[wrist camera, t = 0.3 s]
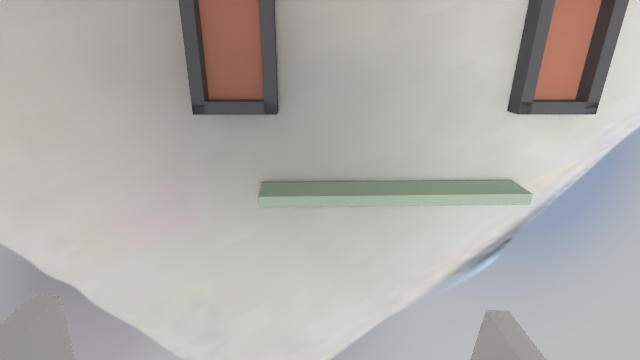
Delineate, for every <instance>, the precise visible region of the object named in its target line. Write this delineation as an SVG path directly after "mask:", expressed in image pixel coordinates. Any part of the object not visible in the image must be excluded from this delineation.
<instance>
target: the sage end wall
mask: <svg viewBox="0 0 640 360" xmlns="http://www.w3.org/2000/svg"><path fill="white" fill-rule="evenodd" d="M532 195H533V194H532V193H531V192H529V191H527V190H526V189H524V188H523V187H521V186H520V185H518V184H517V183H515V182H513V181H512V180H451V181H344V182H262V186H261V189H260V192H259V196H258V203H259V208H291V207H370V206H449V205H528V204H530V203H531V199H532Z"/></svg>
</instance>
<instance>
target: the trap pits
mask: <svg viewBox="0 0 640 360" xmlns="http://www.w3.org/2000/svg"><path fill="white" fill-rule="evenodd" d="M628 2H629V0H530V1H529V6H528V11H527V16H526V21H525V26H524V31H523V36H522V41H521V46H520V51H519V56H518V61H517V66H516V71H515V76H514V81H513V86H512V91H511V96H510V101H509V106H508V111H510V112H513V113H516V114H596V112H597V108H598V105H599V101H600V98H601V94H602V91H603V88H604V84H605V81H606V77H607V74H608V70H609V67H610V64H611V60H612V57H613V53H614V50H615V46H616V43H617V39H618V36H619V33H620V29H621V26H622V22H623V19H624V15H625V12H626V9H627V5H628ZM179 5H180V13H181V22H182V30H183V38H184V46H185V54H186V62H187V70H188V79H189V87H190V95H191V103H192V111H193V114H277V113H278V87H277V59H276V30H275V2H274V0H179Z"/></svg>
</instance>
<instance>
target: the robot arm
mask: <svg viewBox="0 0 640 360" xmlns="http://www.w3.org/2000/svg"><path fill="white" fill-rule="evenodd" d="M0 360H75V359H74V355H73V350H72V346H71V341H70V337H69V333H68V329H67V324H66V320H65V315H64V311H63V307H62V303H61V298H60V296H54V295H53V296H52V295H32V296H31V297H30V298H29V299H28V300H27V301H26V302H24V303H23V304H22V305H21V306H20V307H19V308H18V309H17V310H16V311H15V312H14V313H12V314H11V316H9V317H8V318H7V319H6V320H5V321H4V322H3V323H2V324H1V325H0ZM471 360H546V358H545V357H544V356H543V355H542V353H541V352H540V351H539V350H538V348H537V347H536V346H535V344H534V343H533V342H532V340H531V339H530V338H529V336H528V335H527V334H526V333H525V331H524V330H523V329H522V328H521V326H520V325H519V324H518V322H517V321H516V320H515V318H514V317H513V316H512V314H511V313H510V312H509V311H496V310H486V312H485V315H484V318H483V322H482V325H481V328H480V331H479V334H478V337H477V340H476V344H475V347H474V350H473V353H472V357H471Z"/></svg>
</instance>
